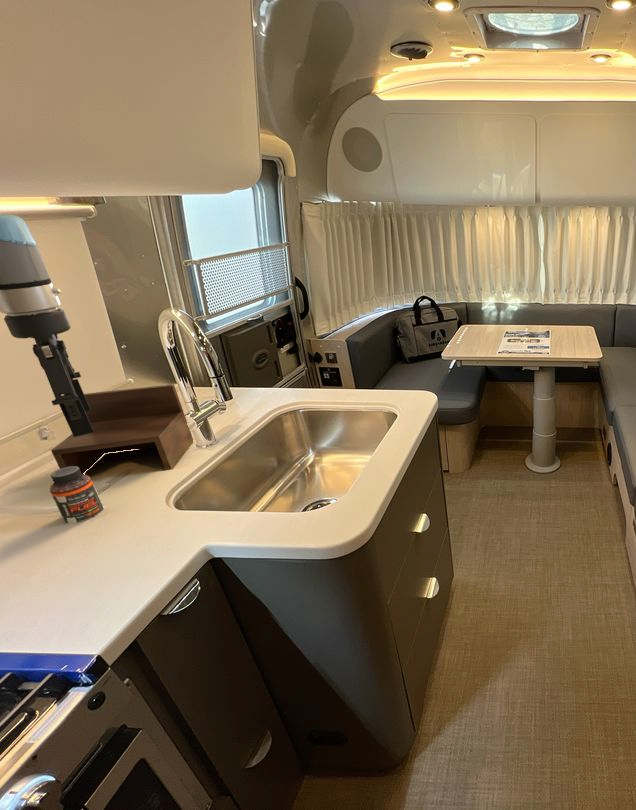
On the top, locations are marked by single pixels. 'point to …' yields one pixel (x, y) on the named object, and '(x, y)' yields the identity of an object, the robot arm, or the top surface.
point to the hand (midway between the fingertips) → (82, 422)
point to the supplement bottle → (75, 495)
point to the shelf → (129, 427)
